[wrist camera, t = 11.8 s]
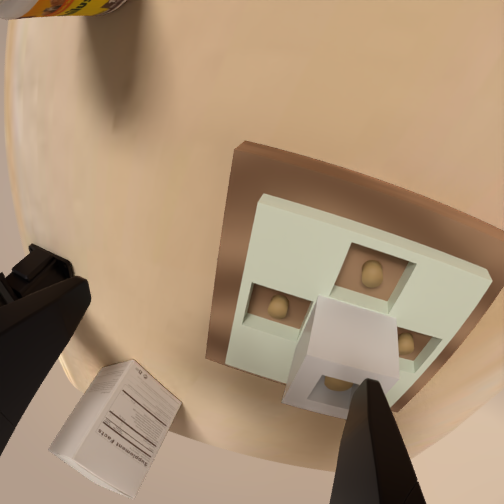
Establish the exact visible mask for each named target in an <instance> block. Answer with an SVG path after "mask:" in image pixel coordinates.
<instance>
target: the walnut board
mask: <svg viewBox="0 0 504 504" xmlns="http://www.w3.org/2000/svg"><path fill="white" fill-rule="evenodd" d="M263 193H264V194H268V195H271V196H275V197H278V198H282V199H285V200H288V201H292V202H295V203H299V204H302V205H305V206H308V207H312V208H315V209H318V210H321V211H325V212H328V213H331V214H334V215H337V216H340V217H344V218H347V219H350V220H353V221H356V222H359V223H362V224H365V225H368V226H371V227H374V228H377V229H380V230H383V231H386V232H389V233H392V234H394V235H397V236H400V237H403V238H406V239H409V240H411V241H414V242H417V243H420V244H423V245H425V246H428V247H431V248H433V249H436V250H439V251H441V252H444V253H447V254H449V255H452V256H455V257H457V258H460V259H462V260H465V261H468V262H470V263H473V264H475V265H478V266H480V267H483V268H485V269H487V271H488V273H489V275H490V277H491V279H492V283H491V285H490V286H489V288H488V289H487V291H486V292H485V294H484V295H483V297H482V298H481V300H480V301H479V303H478V304H477V305H476V307H475V308H474V310H473V311H472V313H471V314H470V315H469V317H468V318H467V319H466V321H465V322H464V323H463V325H462V326H461V327H460V329H459V330H458V331H457V333H456V334H455V335H454V337H453V338H452V339H451V340H450V342H449V343H448V344H447V345H446V347H445V348H444V349H443V350H442V352H441V353H440V354H439V355H438V356H437V358H436V359H435V360H434V361H433V362H432V363H431V365H430V366H429V367H428V368H427V369H426V370H425V371H424V373H423V374H422V375H421V376H420V377H419V378H418V379H417V380H416V381H415V382H414V384H413V385H412V386H411V387H410V388H409V389H408V390H407V391H406V392H405V393H404V394H403V395H402V396H401V397H400V398H399V399H398V400H397V401H396V402H395V403H394V404H393V405H392V406H391V407H390V408H391V411H394V412H398V411H399V410H400V409H402V408H403V407H404V406H405V405H406V404H407V403H408V402H409V401H410V400H411V399H412V398H413V397H414V396H415V395H416V394H417V393H418V392H419V391H420V390H421V389H422V388H423V387H424V386H425V385H426V383H427V382H428V381H429V380H430V379H431V378H432V377H433V376H434V375H435V374H436V373H437V372H438V371H439V369H440V368H441V367H442V366H443V365H444V364H445V363H446V361H447V360H448V359H449V358H450V357H451V356H452V355H453V353H454V352H455V351H456V350H457V349H458V347H459V346H460V345H461V344H462V342H463V341H464V340H465V339H466V337H467V336H468V335H469V334H470V332H471V331H472V330H473V329H474V327H475V326H476V325H477V323H478V322H479V321H480V319H481V318H482V317H483V315H484V314H485V312H486V311H487V310H488V308H489V307H490V305H491V304H492V303H493V301H494V300H495V298H496V297H497V295H498V294H499V292H500V291H501V289H502V288H503V286H504V231H503V230H501V229H498V228H496V227H494V226H492V225H490V224H488V223H486V222H483V221H481V220H479V219H477V218H475V217H472V216H470V215H468V214H466V213H463V212H461V211H459V210H456V209H454V208H452V207H449V206H447V205H444V204H442V203H440V202H437V201H435V200H432V199H430V198H427V197H425V196H422V195H419V194H417V193H414V192H412V191H409V190H406V189H404V188H401V187H398V186H395V185H393V184H390V183H387V182H384V181H382V180H379V179H376V178H373V177H370V176H367V175H364V174H361V173H358V172H355V171H352V170H349V169H346V168H343V167H339V166H336V165H333V164H330V163H326V162H323V161H320V160H316V159H313V158H309V157H306V156H302V155H299V154H295V153H292V152H288V151H284V150H280V149H277V148H273V147H269V146H265V145H261V144H257V143H253V142H249V141H245V142H243V143H242V144H241V145H239V146H238V147H237V148H235V149H234V155H233V161H232V167H231V173H230V180H229V186H228V193H227V199H226V206H225V212H224V219H223V226H222V233H221V240H220V247H219V254H218V262H217V269H216V276H215V284H214V292H213V299H212V307H211V315H210V324H209V332H208V340H207V349H206V359H209V360H211V361H214V362H217V363H220V364H223V365H225V366H228V367H231V368H234V369H237V370H240V371H243V372H246V373H249V374H252V375H255V376H258V377H261V378H264V379H268V380H271V381H274V382H277V383H281V384H284V385H286V383H282V382H279V381H276V380H272V379H269V378H266V377H263V376H260V375H257V374H254V373H250V372H247V371H244V370H241V369H239V368H236V367H233V366H230V365H227V364H225V361H226V356H227V351H228V346H229V341H230V336H231V331H232V326H233V321H234V316H235V311H236V306H237V301H238V296H239V291H240V287H241V282H242V277H243V272H244V267H245V262H246V257H247V252H248V247H249V242H250V238H251V233H252V228H253V223H254V218H255V213H256V208H257V204H258V201H259V200H260V198H261V196H262V195H263ZM408 263H409V261H407V260H404V259H401V258H398V257H396V256H393V255H390V254H387V253H384V252H381V251H378V250H375V249H372V248H368V247H365V246H362V245H359V244H356V243H353V242H352V243H351V245H350V248H349V250H348V252H347V255H346V257H345V260H344V262H343V265H342V267H341V269H340V272H339V274H338V277H337V279H336V281H335V284H334V285H336V286H339V287H342V288H346V289H349V290H352V291H355V292H359V293H362V294H365V295H368V296H372V297H375V298H378V299H381V300H385V301H388V299H389V298H390V296H391V294H392V292H393V291H394V289H395V287H396V285H397V283H398V281H399V280H400V278H401V276H402V274H403V272H404V270H405V268H406V266H407V264H408ZM310 303H311V301H310V300H307V299H303V298H300V297H297V296H294V295H290V294H287V293H284V292H281V291H278V290H275V289H271V288H268V287H265V286H262V285H259V284H256V283H254V285H253V290H252V294H251V298H250V302H249V306H248V311H247V313H250V314H253V315H256V316H259V317H262V318H265V319H268V320H271V321H274V322H278V323H281V324H284V325H287V326H290V327H294V328H297V329H300V327H301V325H302V323H303V320H304V318H305V315H306V313H307V311H308V308H309V306H310ZM397 334H398V351H399V357H400V358H404V359H408V360H412V361H414V360H415V359H416V357H417V356H418V355H419V354H420V352H421V351H422V350H423V348H424V347H425V346H426V345H427V343H428V342H429V341H430V339H431V338H432V337H433V336H429V335H425V334H422V333H418V332H415V331H411V330H408V329H404V328H401V327H397ZM324 384H325V386H326V387H327V388H328V389H330V390H333V391H346V390H348V389H350V388H351V387H352V386H353V383H351V382H347V381H343V380H340V379H336V378H332V377H328V376H325V381H324Z"/></svg>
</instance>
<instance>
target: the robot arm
mask: <svg viewBox="0 0 504 504" xmlns="http://www.w3.org/2000/svg"><path fill="white" fill-rule="evenodd" d="M29 251H30V254H28V255H27V256H26V257H25V258H24V259H22V260H21V261H20V262H19V263H18V264H16V265H15V266H14V267H13V268H12V272H11V273H10V274H9V275H8V276H7V277H6V278H5V276H4V274H3V273H2V272H1V273H0V456H1V454H2V452H3V450H4V448H5V446H6V444H7V443H8V441H9V439H10V437H11V435H12V433H13V431H14V430H15V427H16V426H17V424H18V422H19V421H20V419H21V417H22V415H23V414H24V412H25V410H26V409H27V407H28V405H29V403H30V402H31V400H32V398H33V397H34V395H35V393H36V392H37V390H38V388H39V387H40V385H41V384H42V382H43V381H44V379H45V377H46V376H47V374H48V373H49V371H50V370H51V368H52V366H53V365H54V363H55V362H56V360H57V359H58V357H59V356H60V354H61V353H62V351H63V350H64V348H65V347H66V345H67V344H68V342H69V341H70V339H71V337H72V336H73V334H74V332H75V330H76V328H77V326H78V325H79V323H80V321H81V319H82V317H83V316H84V314H85V312H86V310H87V308H88V307H89V305H90V302H91V294H90V289H89V284H88V281H87V280H86V279H84V278H82V277H80V276H74V277H73V274H72V270H71V265H70V263H69V261H68V260H66V259H64V258H62V257H59V256H57V255H55V254H53V253H51V252H49V251H47V250H44V249H42V248H40V247H38V246H36V245H34V244H31V245H30V246H29ZM330 504H426V502H425V499H424V496H423V493H422V491H421V488H420V485H419V482H417V477H416V474H415V471H414V469H413V466H412V463H411V460H410V457H409V455H408V452H407V449H406V447H405V444H404V441H403V439H402V436H401V434H400V431H399V429H398V426H397V423H396V421H395V418H394V416H393V413H392V411H391V408H390V406H389V404H388V401H387V399H386V396H385V394H384V391H383V389H382V387H381V384H380V382H379V381H377V380H374V379H370V378H366V379H364V380H363V382H362V383H361V384H360V385H359V387H358V388H357V389H356V390H355V392H354V394H353V396H352V399H351V403H350V407H349V411H348V415H347V419H346V423H345V427H344V431H343V435H342V439H341V443H340V448H339V454H338V461H337V467H336V472H335V478H334V483H333V489H332V494H331V499H330Z"/></svg>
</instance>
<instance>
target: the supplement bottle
mask: <svg viewBox="0 0 504 504" xmlns="http://www.w3.org/2000/svg"><path fill="white" fill-rule="evenodd" d="M126 1H127V0H0V18H1V19H5V20H11V19H21V18H32V17H48V16H98V15H104V14H107V13H110V12H112V11H114V10H116V9H117V8H119V7H120V6H121V5H122V4H124V3H125V2H126Z"/></svg>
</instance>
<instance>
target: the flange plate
mask: <svg viewBox="0 0 504 504" xmlns="http://www.w3.org/2000/svg"><path fill="white" fill-rule="evenodd" d="M352 242H353V243H356V244H359V245H362V246H365V247H368V248H372V249H375V250H378V251H381V252H384V253H387V254H390V255H393V256H396V257H398V258H401V259H404V260H407V261H409V263H408V264H407V266H406V268H405V270H404V272H403V274H402V276H401V278H400V280H399V281H398V283H397V285H396V287H395V289H394V291H393V292H392V294H391V296H390V298H389V299H388V301H385V300H381V299H378V298H375V297H372V296H368V295H365V294H362V293H359V292H355V291H352V290H349V289H346V288H342V287H339V286H336V285H334V284H335V281H336V279H337V277H338V274H339V272H340V269H341V267H342V265H343V262H344V260H345V257H346V255H347V252H348V250H349V248H350V245H351V243H352ZM254 283H256V284H259V285H262V286H265V287H268V288H271V289H275V290H278V291H281V292H284V293H287V294H290V295H294V296H297V297H300V298H303V299H307V300H310V301H311V303H310V306H309V308H308V311H307V313H306V315H305V318H304V320H303V323H302V325H301V327H300V329H297V328H294V327H290V326H287V325H284V324H281V323H278V322H274V321H271V320H268V319H265V318H262V317H259V316H256V315H253V314H250V313H247V311H248V306H249V302H250V298H251V294H252V290H253V285H254ZM491 283H492V279H491V277H490V275H489V273H488V271H487V269H485V268H483V267H480V266H478V265H475V264H473V263H470V262H468V261H465V260H462V259H460V258H457V257H455V256H452V255H449V254H447V253H444V252H441V251H439V250H436V249H433V248H431V247H428V246H425V245H423V244H420V243H417V242H414V241H411V240H409V239H406V238H403V237H400V236H397V235H394V234H392V233H389V232H386V231H383V230H380V229H377V228H374V227H371V226H368V225H365V224H362V223H359V222H356V221H353V220H350V219H347V218H344V217H340V216H337V215H334V214H331V213H328V212H325V211H321V210H318V209H315V208H312V207H308V206H305V205H302V204H299V203H295V202H292V201H288V200H285V199H282V198H278V197H275V196H271V195H268V194H264V193H263V195H262V196H261V198H260V200H259V201H258V204H257V208H256V213H255V218H254V223H253V228H252V233H251V238H250V242H249V247H248V252H247V257H246V262H245V267H244V272H243V277H242V282H241V287H240V291H239V296H238V301H237V306H236V311H235V316H234V321H233V326H232V331H231V336H230V341H229V346H228V351H227V356H226V361H225V364H227V365H230V366H233V367H236V368H239V369H241V370H244V371H247V372H250V373H254V374H257V375H260V376H263V377H266V378H269V379H272V380H276V381H279V382H282V383H286V387H285V391H284V394H283V398H282V402H281V403H284V404H287V405H291V406H294V407H298V408H301V409H305V410H309V411H313V412H317V413H321V414H325V415H329V416H333V417H337V418H342V419H347V415H348V411H349V407H350V403H351V399H352V396H353V394H354V392H355V390H356V389H357V388H358V387H359V385H360V384H361V383H362V382H363V380H364V379H366V378H370V379H374V380H377V381H379V382H380V384H381V387H382V389H383V391H384V394H385V396H386V399H387V401H388V404H389V406H390V407H391V406H392V405H393V404H394V403H395V402H396V401H397V400H398V399H399V398H400V397H401V396H402V395H403V394H404V393H405V392H406V391H407V390H408V389H409V388H410V387H411V386H412V385H413V384H414V382H415V381H416V380H417V379H418V378H419V377H420V376H421V375H422V374H423V373H424V371H425V370H426V369H427V368H428V367H429V366H430V365H431V363H432V362H433V361H434V360H435V359H436V358H437V356H438V355H439V354H440V353H441V352H442V350H443V349H444V348H445V347H446V345H447V344H448V343H449V342H450V340H451V339H452V338H453V337H454V335H455V334H456V333H457V331H458V330H459V329H460V327H461V326H462V325H463V323H464V322H465V321H466V319H467V318H468V317H469V315H470V314H471V313H472V311H473V310H474V308H475V307H476V305H477V304H478V303H479V301H480V300H481V298H482V297H483V295H484V294H485V292H486V291H487V289H488V288H489V286H490V285H491ZM397 327H401V328H404V329H408V330H411V331H415V332H418V333H422V334H425V335H429V336H433V337H432V338H431V339H430V341H429V342H428V343H427V345H426V346H425V347H424V348H423V350H422V351H421V352H420V354H419V355H418V356H417V357H416V359H415V360H414V361H412V360H408V359H404V358H400V357H399V351H398V334H397ZM325 376H328V377H332V378H336V379H340V380H343V381H347V382H351V383H353V386H352V387H351V388H350V389H348V390H346V391H333V390H330V389H328V388H327V387H326V386H325V384H324V381H325Z"/></svg>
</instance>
